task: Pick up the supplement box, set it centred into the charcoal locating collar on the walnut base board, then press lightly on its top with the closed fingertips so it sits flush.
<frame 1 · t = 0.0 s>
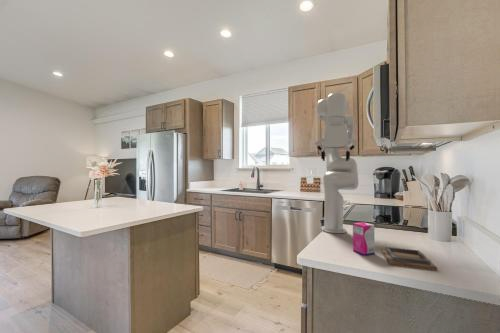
hand: (335, 160, 106), 37 cm above the counter, tool pointing down, fingers open, 9 cm apart
supplement box: (363, 252, 96), on the counter
base board: (406, 260, 88), on the counter
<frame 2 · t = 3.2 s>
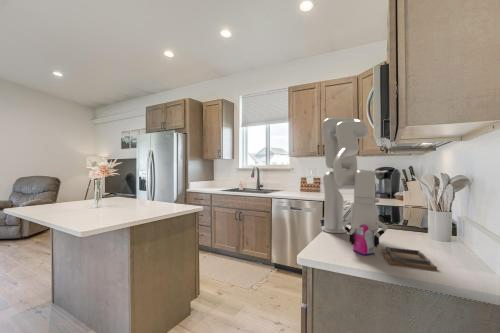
hand: (363, 244, 95), 3 cm above the counter, tool pointing down, fingers closed on supplement box, 8 cm apart
supplement box: (363, 252, 96), on the counter, touching gripper
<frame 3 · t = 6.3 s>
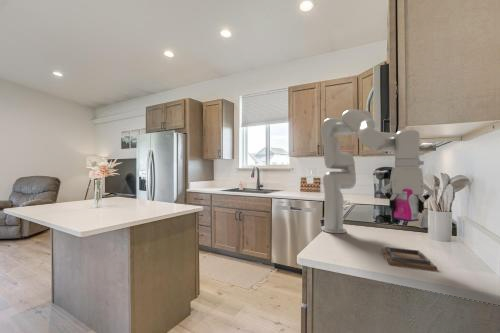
hand: (406, 211, 88), 18 cm above the counter, tool pointing down, fingers closed on supplement box, 8 cm apart
supplement box: (405, 220, 89), point 15 cm above the counter, touching gripper
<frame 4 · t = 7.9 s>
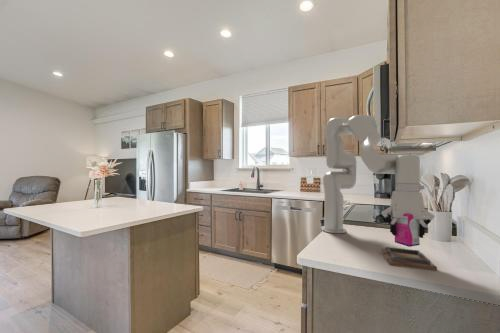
hand: (406, 235, 88), 9 cm above the counter, tool pointing down, fingers closed on supplement box, 8 cm apart
supplement box: (406, 244, 88), point 6 cm above the counter, touching gripper
when the fingers open (5 cm above the counter, at t = 9.2 s): supplement box drops 1 cm, resting on base board.
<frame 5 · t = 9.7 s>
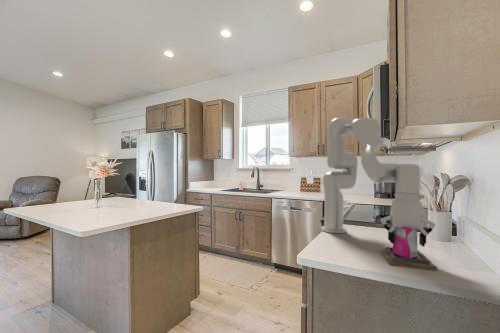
hand: (406, 243, 88), 6 cm above the counter, tool pointing down, fingers open, 9 cm apart
supplement box: (404, 256, 89), point 1 cm above the counter, touching base board
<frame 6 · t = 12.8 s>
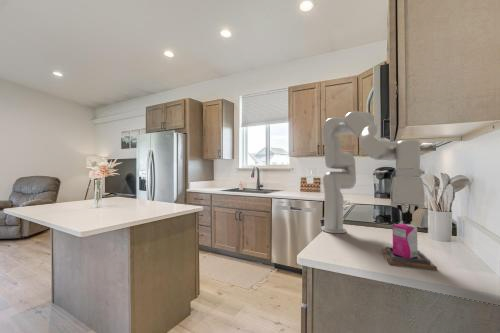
hand: (406, 223, 88), 14 cm above the counter, tool pointing down, fingers closed
nothing on the counter moved.
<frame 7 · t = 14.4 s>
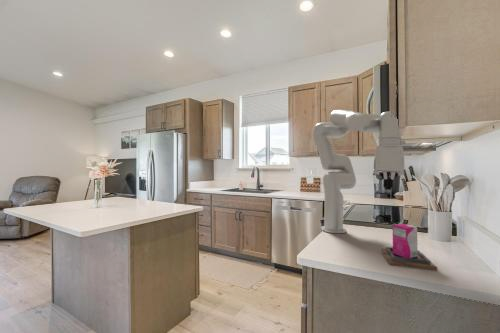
hand: (387, 189, 95), 25 cm above the counter, tool pointing down, fingers closed
nothing on the counter moved.
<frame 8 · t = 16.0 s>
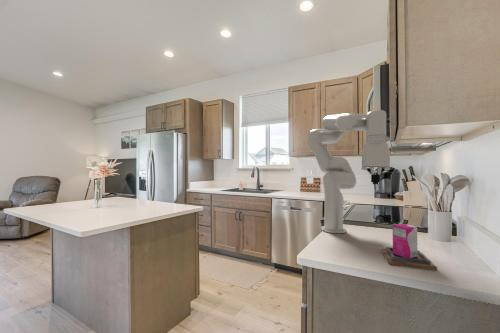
hand: (375, 184, 101), 27 cm above the counter, tool pointing down, fingers closed
nothing on the counter moved.
at the end: supplement box 0.6 cm off-centre on the base board, point 1.0 cm above the base board's base; supplement box tilted 0°; the gripper is holding nothing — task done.
